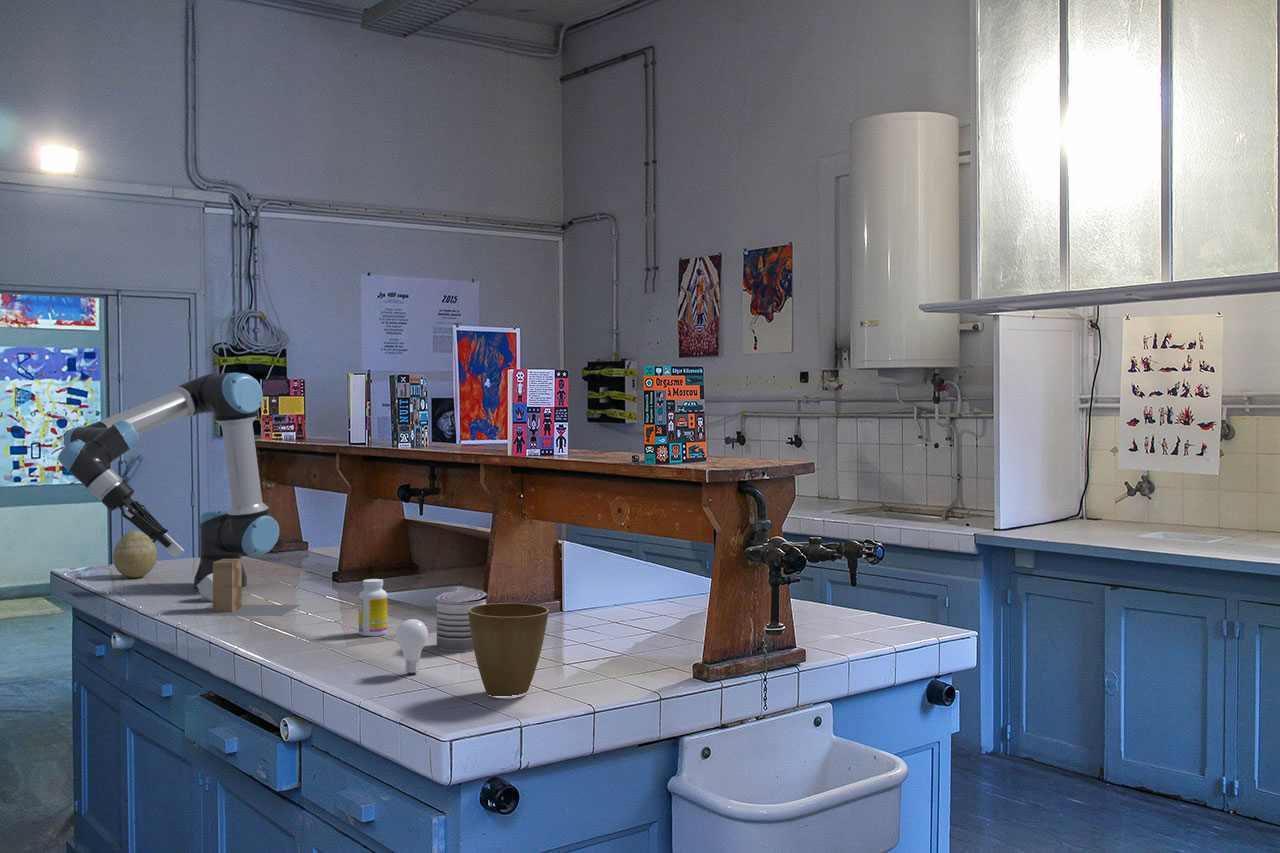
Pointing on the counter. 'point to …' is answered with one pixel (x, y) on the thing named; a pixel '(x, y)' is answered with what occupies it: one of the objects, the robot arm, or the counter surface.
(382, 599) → the supplement bottle
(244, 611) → the mat
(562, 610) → the counter surface
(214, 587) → the label block
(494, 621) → the plant pot
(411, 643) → the lightbulb
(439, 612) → the can
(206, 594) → the die
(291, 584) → the counter surface
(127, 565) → the fossilized egg
